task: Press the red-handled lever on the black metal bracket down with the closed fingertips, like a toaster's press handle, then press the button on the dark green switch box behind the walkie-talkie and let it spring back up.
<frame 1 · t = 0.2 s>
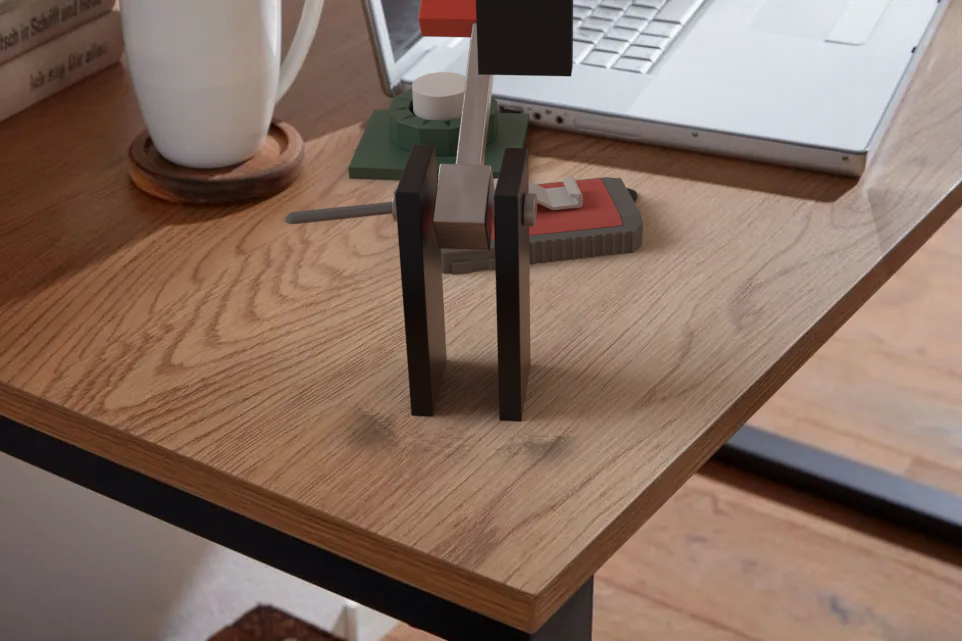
button: (442, 97, 81), point 5 cm above the table, slide at 0.2 cm
bracket: (473, 413, 62), on the table
lever: (475, 116, 58), point 13 cm above the table, hinge at 30.0°
switch box: (443, 171, 83), on the table
walkie-talkie: (470, 255, 75), on the table
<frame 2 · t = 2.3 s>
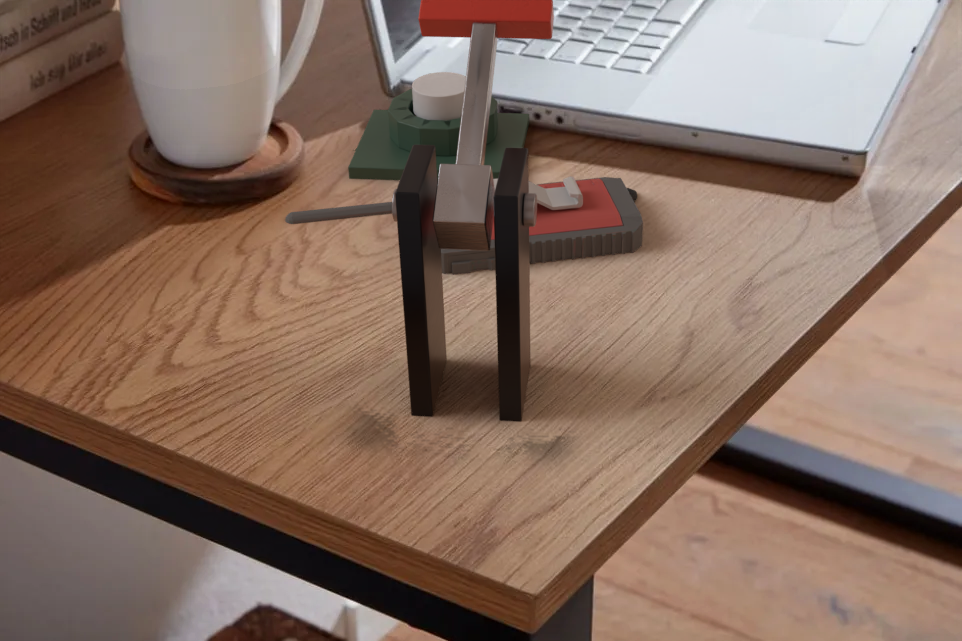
nothing on the table moved.
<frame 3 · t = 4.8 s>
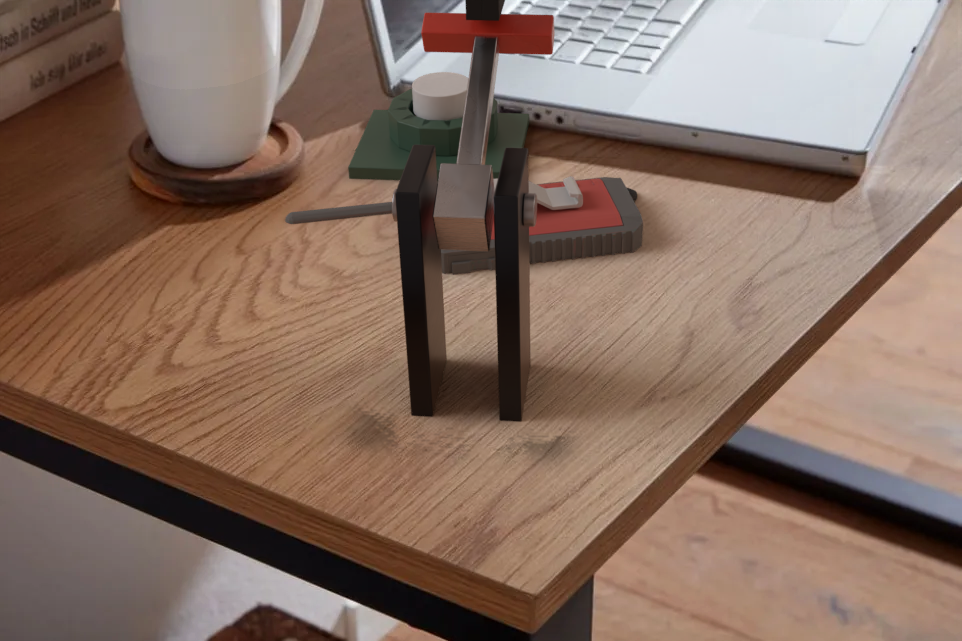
hand: (486, 8, 61), 16 cm above the table, tool pointing down, fingers closed
lever: (476, 123, 59), point 13 cm above the table, hinge at 23.9°
everything else where it was.
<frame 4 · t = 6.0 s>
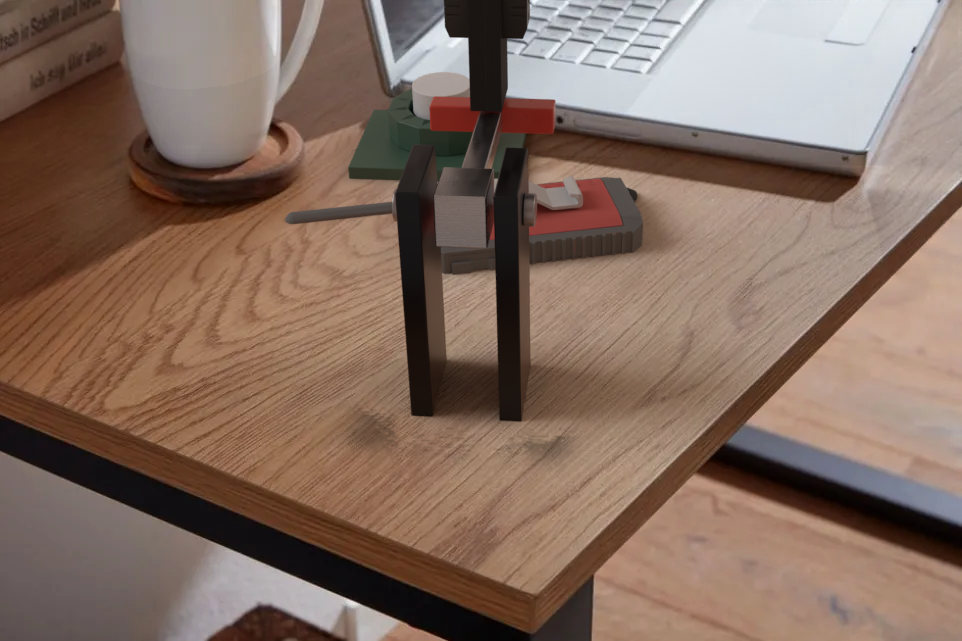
hand: (489, 98, 64), 12 cm above the table, tool pointing down, fingers closed
lever: (478, 161, 60), point 11 cm above the table, hinge at -2.6°
everything else where it was.
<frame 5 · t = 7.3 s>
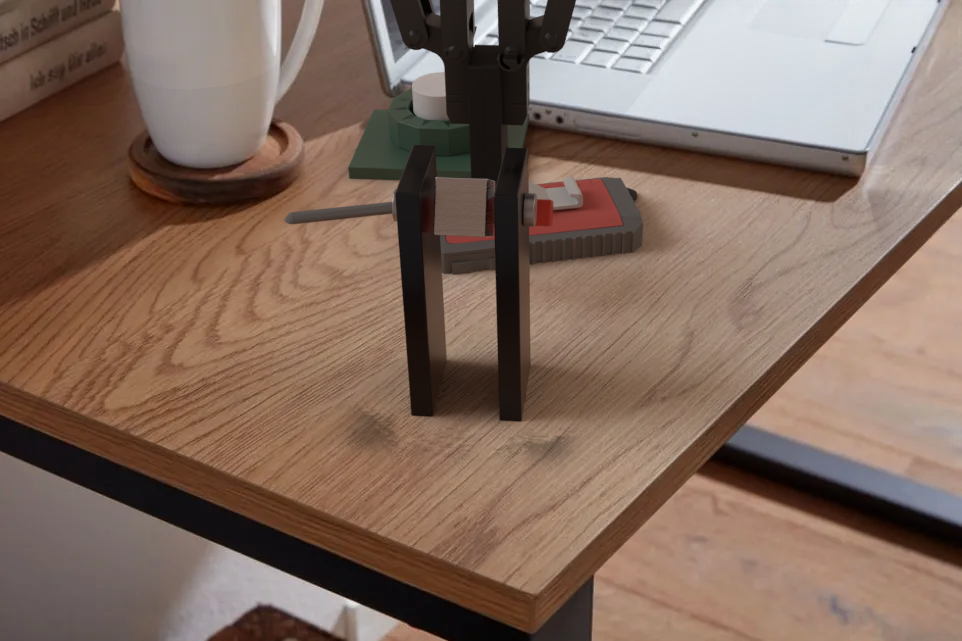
hand: (490, 180, 65), 8 cm above the table, tool pointing down, fingers closed
lever: (478, 209, 61), point 9 cm above the table, hinge at -30.1°, touching gripper
everything else where it was.
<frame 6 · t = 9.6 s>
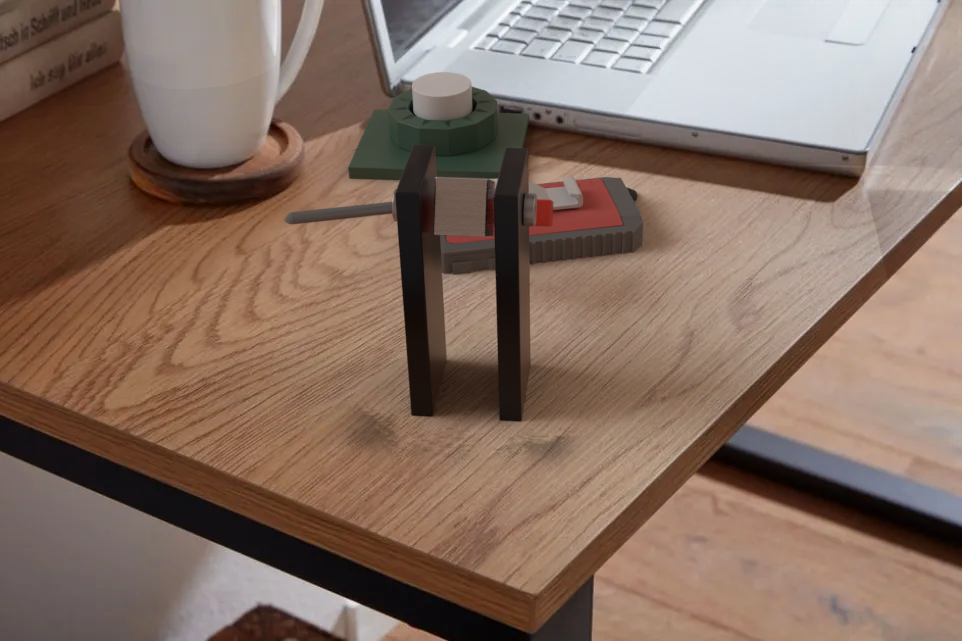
lever: (478, 209, 61), point 9 cm above the table, hinge at -30.1°
everything else where it was.
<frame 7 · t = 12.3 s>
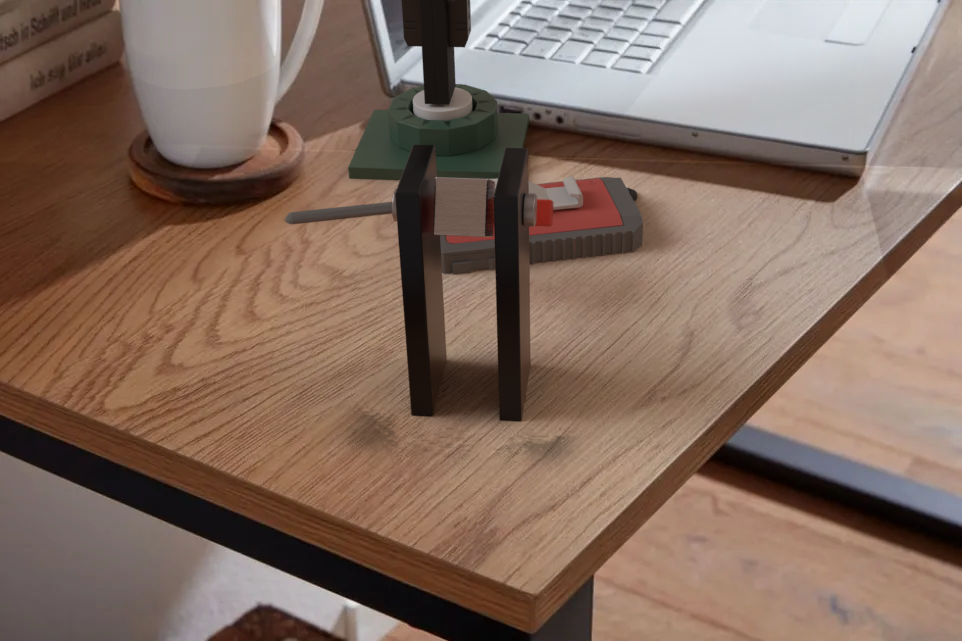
hand: (440, 94, 81), 5 cm above the table, tool pointing down, fingers closed
button: (443, 111, 82), point 4 cm above the table, slide at -0.8 cm, touching gripper
everything else where it was.
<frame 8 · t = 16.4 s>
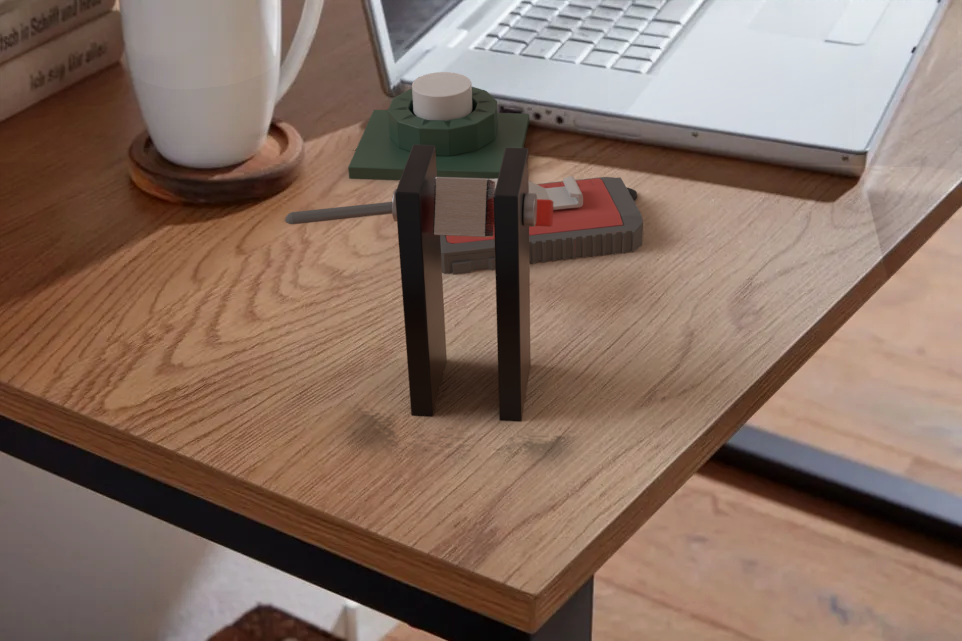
button: (442, 97, 81), point 5 cm above the table, slide at 0.2 cm
everything else where it was.
at the end: lever at -30° (first picture: +30°); button pushed in 1.0 cm at the most during the clip, back to 0.2 cm at the end; button slide at 0.2 cm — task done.
